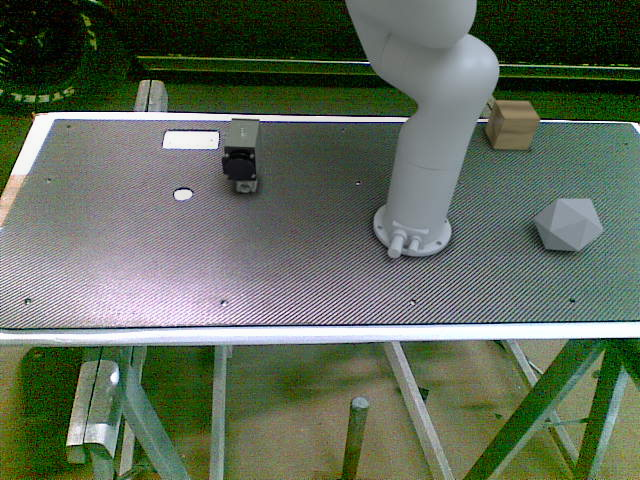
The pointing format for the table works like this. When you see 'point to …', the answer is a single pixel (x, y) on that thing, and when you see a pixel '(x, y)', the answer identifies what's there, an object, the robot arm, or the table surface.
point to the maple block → (512, 124)
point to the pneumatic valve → (242, 153)
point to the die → (568, 224)
